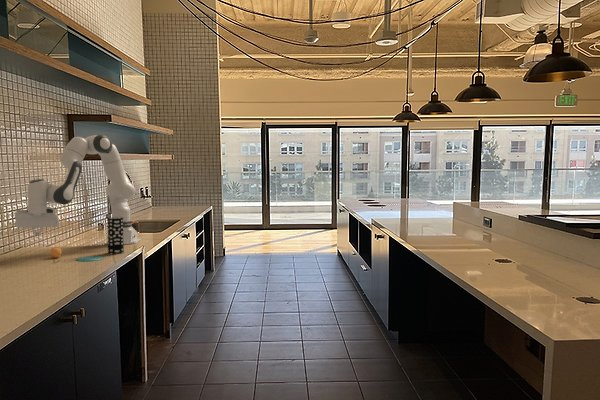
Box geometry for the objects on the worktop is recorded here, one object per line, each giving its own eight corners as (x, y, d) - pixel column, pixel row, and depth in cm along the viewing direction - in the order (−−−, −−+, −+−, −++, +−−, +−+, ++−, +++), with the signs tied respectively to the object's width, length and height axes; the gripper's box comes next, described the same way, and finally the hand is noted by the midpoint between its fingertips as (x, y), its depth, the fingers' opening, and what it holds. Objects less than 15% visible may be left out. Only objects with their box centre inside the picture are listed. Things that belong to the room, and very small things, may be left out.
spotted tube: (117, 254, 248) (117, 219, 247) (104, 253, 250) (104, 218, 248) (126, 251, 256) (126, 217, 255) (113, 251, 258) (113, 216, 257)
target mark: (85, 256, 243) (85, 255, 243) (107, 256, 242) (107, 256, 242) (70, 261, 230) (70, 260, 230) (94, 261, 229) (94, 261, 229)
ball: (54, 256, 240) (54, 246, 240) (63, 256, 240) (63, 246, 240) (47, 258, 235) (47, 248, 235) (57, 258, 235) (57, 248, 234)
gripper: (13, 210, 229) (13, 237, 230) (58, 210, 238) (58, 235, 239) (15, 209, 235) (15, 235, 235) (59, 208, 244) (59, 234, 244)
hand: (37, 235), depth 237 cm, fingers closed
